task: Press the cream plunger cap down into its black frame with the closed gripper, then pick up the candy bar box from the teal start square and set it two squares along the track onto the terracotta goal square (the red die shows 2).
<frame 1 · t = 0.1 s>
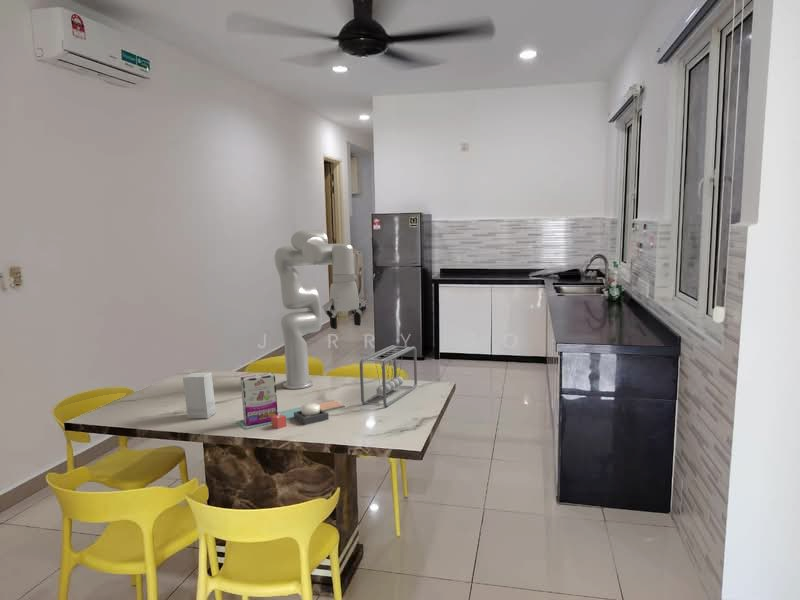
hand: (345, 326, 202), 31 cm above the table, fingers open, 9 cm apart
candy bar box: (260, 422, 197), resting in track
track: (294, 413, 204), on the table
newton's cradle: (390, 396, 223), on the table
skincare box: (201, 416, 205), on the table
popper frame: (311, 418, 198), on the table
goal square: (324, 407, 211), on the table
red die: (279, 426, 191), on the table
popper cap: (310, 409, 198), point 3 cm above the table, slide at 0.0 cm
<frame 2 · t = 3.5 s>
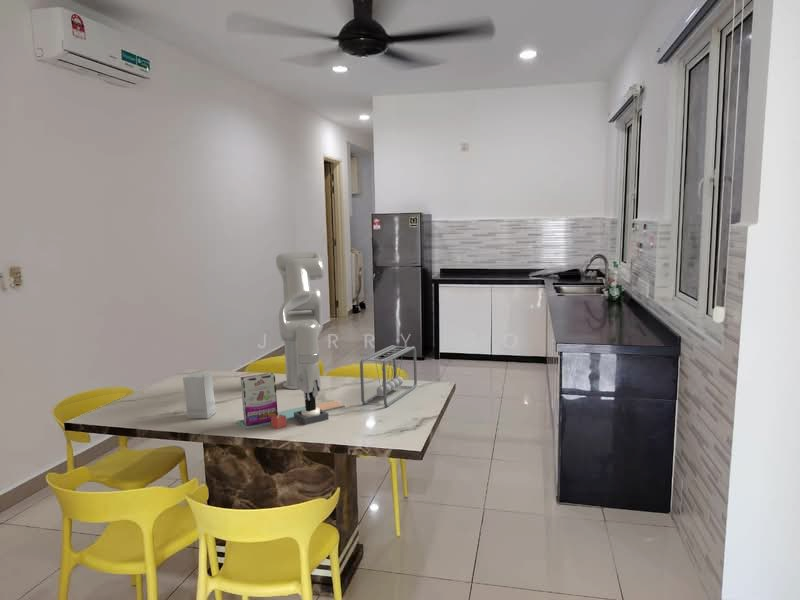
hand: (310, 409, 197), 3 cm above the table, fingers closed
popper cap: (310, 413, 198), point 2 cm above the table, slide at 1.3 cm, touching gripper
everything else where it was.
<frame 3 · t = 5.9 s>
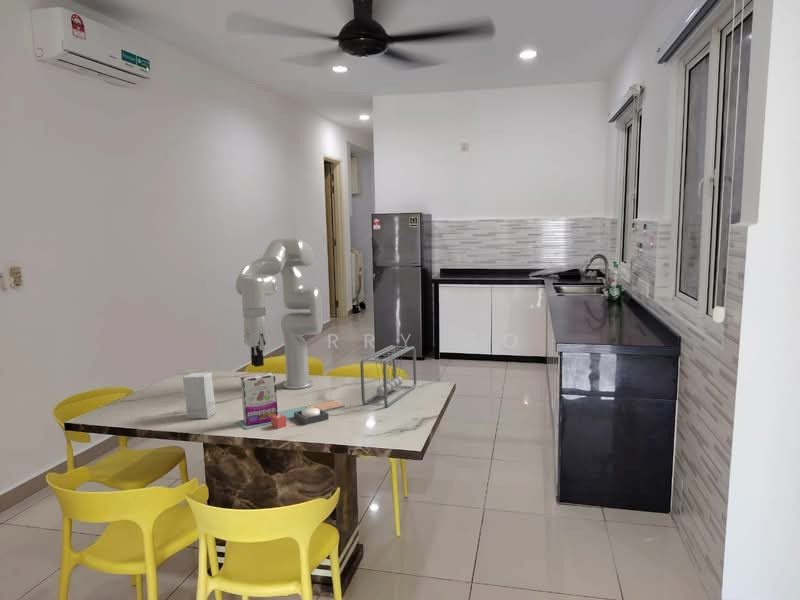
hand: (257, 365, 195), 20 cm above the table, fingers closed
popper cap: (310, 414, 198), point 2 cm above the table, slide at 1.6 cm
everything else where it was.
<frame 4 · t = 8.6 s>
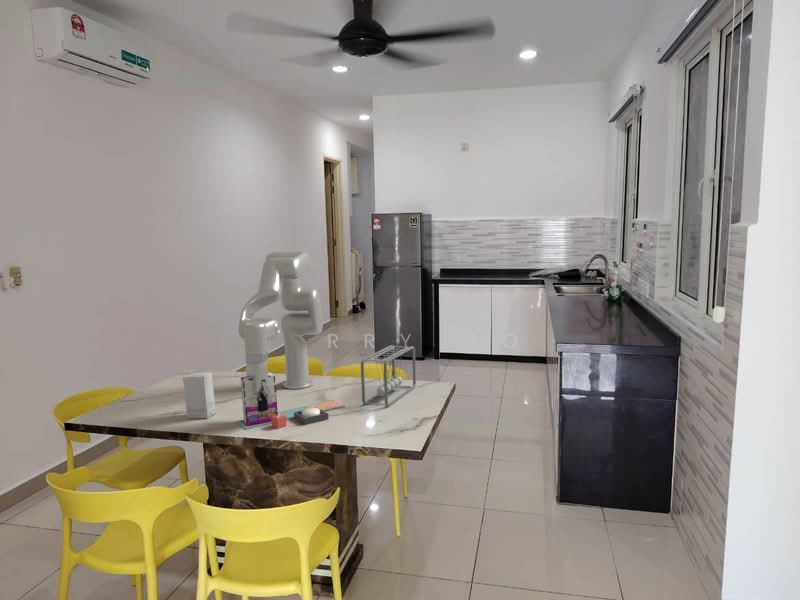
hand: (260, 408, 196), 5 cm above the table, fingers closed on candy bar box, 5 cm apart
candy bar box: (260, 421, 197), resting in track, touching gripper
everything else where it was.
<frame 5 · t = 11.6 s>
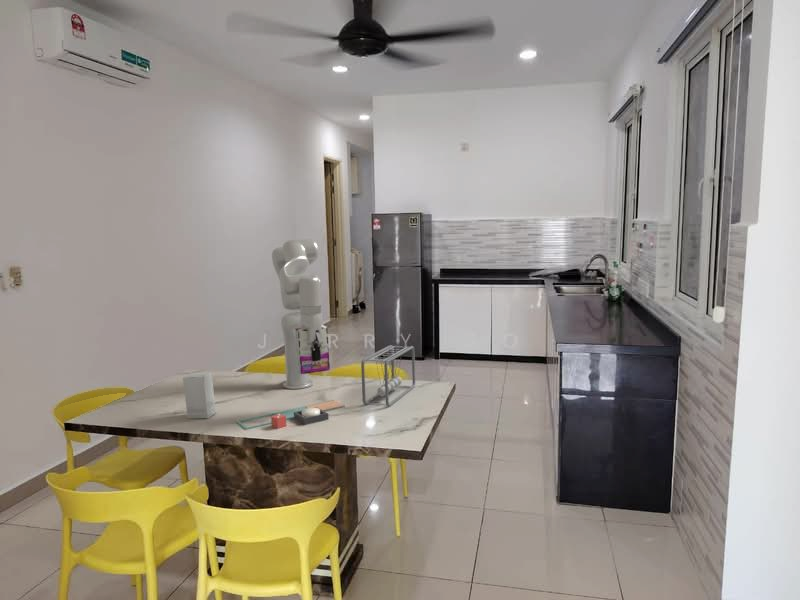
hand: (312, 358, 207), 19 cm above the table, fingers closed on candy bar box, 5 cm apart
candy bar box: (313, 371, 207), point 14 cm above the table, touching gripper
everything else where it was.
when the fingers open (6 cm above the table, at t = 14.9 s): candy bar box stays where it is, resting on goal square.
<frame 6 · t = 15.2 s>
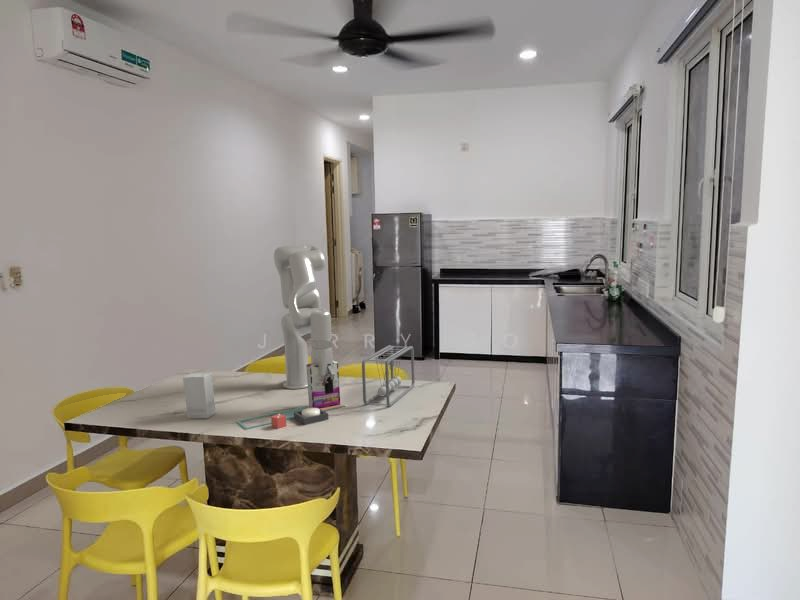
hand: (324, 390, 210), 6 cm above the table, fingers open, 7 cm apart
candy bar box: (324, 406, 211), resting on goal square
everything else where it was.
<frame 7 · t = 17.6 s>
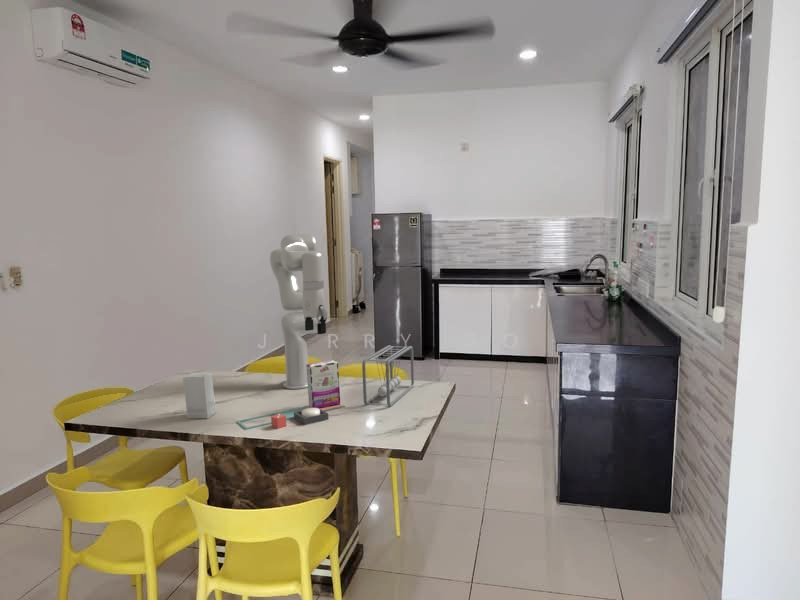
hand: (315, 331, 208), 29 cm above the table, fingers open, 9 cm apart
nothing on the table moved.
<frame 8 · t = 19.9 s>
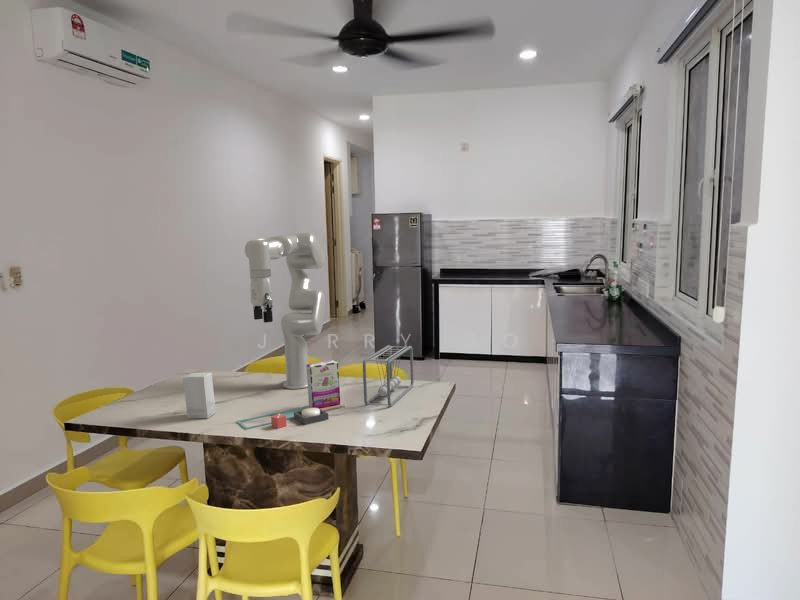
hand: (263, 320, 208), 33 cm above the table, fingers open, 9 cm apart
nothing on the table moved.
at the end: popper cap slide at 1.6 cm; candy bar box 0.4 cm from the goal square (horizontally); candy bar box tilted 0° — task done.
